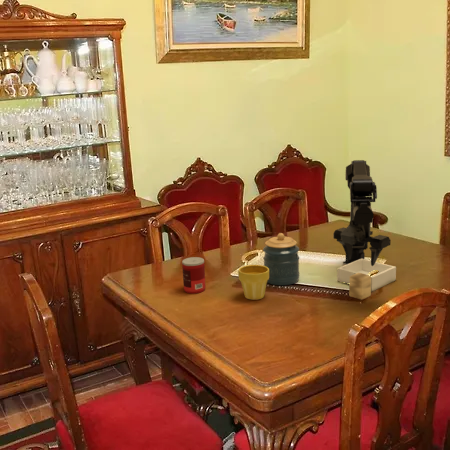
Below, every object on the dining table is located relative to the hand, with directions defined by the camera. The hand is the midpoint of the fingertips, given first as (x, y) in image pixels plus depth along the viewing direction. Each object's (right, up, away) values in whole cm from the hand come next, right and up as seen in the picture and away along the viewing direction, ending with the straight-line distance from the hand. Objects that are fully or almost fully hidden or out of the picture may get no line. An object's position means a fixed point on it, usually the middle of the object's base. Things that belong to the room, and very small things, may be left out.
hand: (360, 262), depth 193 cm
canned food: (-56, -11, +15) cm, 59 cm away
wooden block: (0, -11, +3) cm, 12 cm away
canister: (-24, -8, +21) cm, 33 cm away
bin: (+6, -8, +16) cm, 19 cm away
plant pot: (-35, -12, +6) cm, 37 cm away
